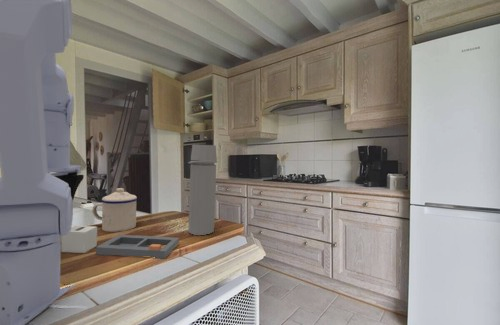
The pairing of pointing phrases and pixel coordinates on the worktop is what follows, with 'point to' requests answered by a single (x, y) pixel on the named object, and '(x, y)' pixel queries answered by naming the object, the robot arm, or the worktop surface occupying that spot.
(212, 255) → the worktop surface
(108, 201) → the teacup with lid
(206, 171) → the water bottle
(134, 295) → the worktop surface
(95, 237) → the block
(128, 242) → the grey divided tray
